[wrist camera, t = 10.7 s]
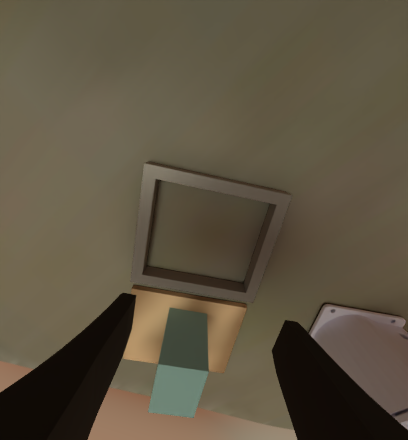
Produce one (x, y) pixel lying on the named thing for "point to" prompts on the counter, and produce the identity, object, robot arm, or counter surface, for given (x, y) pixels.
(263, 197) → the grey flat square frame
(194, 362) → the block
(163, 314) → the board
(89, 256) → the counter surface
